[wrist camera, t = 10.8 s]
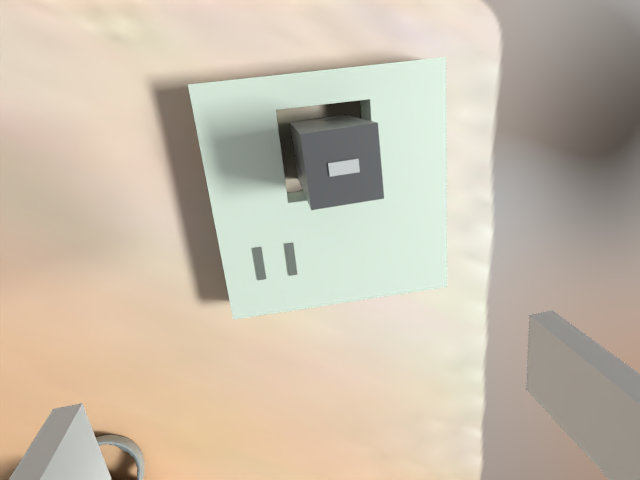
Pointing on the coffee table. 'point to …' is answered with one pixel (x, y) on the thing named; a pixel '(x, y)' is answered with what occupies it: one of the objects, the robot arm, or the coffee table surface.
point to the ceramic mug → (126, 446)
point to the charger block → (338, 160)
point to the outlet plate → (334, 222)
